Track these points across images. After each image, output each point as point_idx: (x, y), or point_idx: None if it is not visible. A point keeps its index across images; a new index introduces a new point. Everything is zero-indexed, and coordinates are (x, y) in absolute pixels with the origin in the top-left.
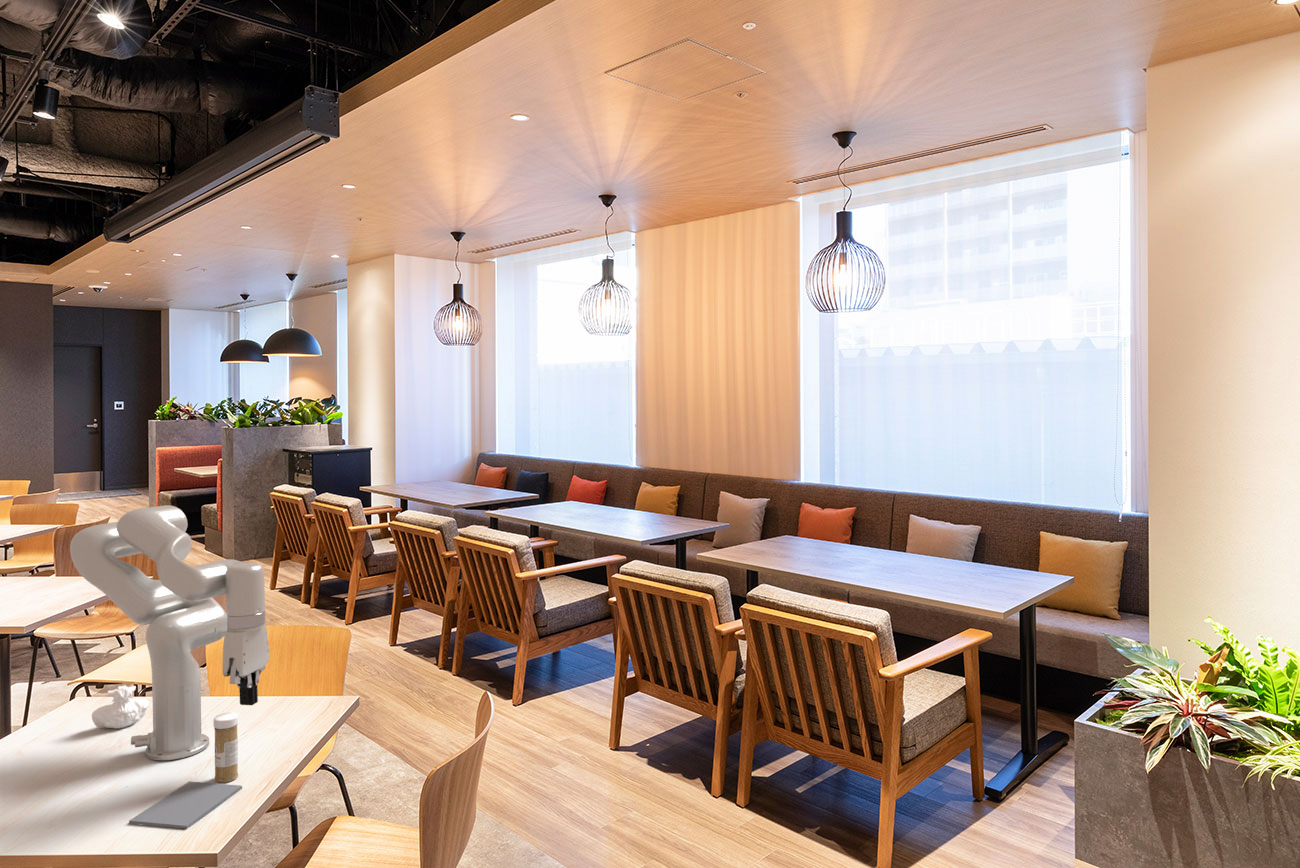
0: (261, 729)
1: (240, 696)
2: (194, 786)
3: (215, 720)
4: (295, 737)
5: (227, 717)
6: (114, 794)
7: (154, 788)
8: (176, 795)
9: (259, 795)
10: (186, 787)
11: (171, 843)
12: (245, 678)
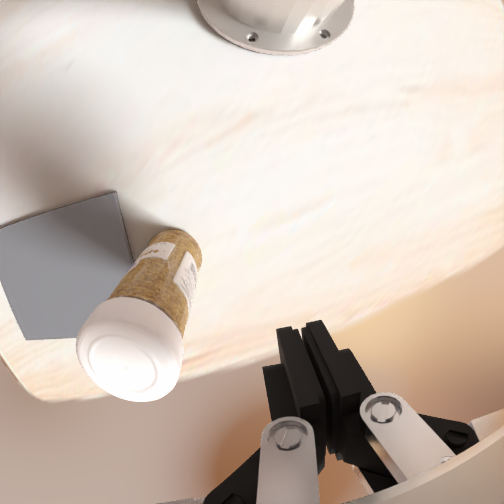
0: (439, 120)
1: (285, 361)
2: (101, 230)
3: (76, 349)
4: (421, 237)
5: (119, 381)
6: (38, 82)
7: (75, 131)
8: (60, 229)
9: None
10: (90, 216)
11: (6, 342)
12: (374, 441)
